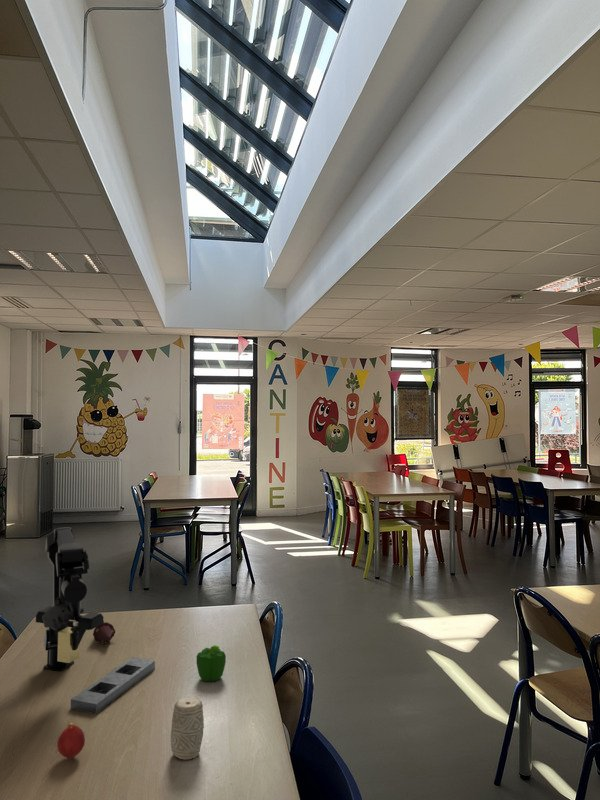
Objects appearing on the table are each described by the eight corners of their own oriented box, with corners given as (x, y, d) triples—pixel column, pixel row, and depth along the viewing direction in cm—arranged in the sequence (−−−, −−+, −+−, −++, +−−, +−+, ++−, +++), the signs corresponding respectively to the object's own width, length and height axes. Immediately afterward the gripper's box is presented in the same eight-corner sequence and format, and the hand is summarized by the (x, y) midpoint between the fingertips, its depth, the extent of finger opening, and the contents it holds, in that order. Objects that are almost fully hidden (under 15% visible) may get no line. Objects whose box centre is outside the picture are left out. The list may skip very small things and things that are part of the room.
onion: (62, 751, 132) (62, 716, 132) (87, 750, 132) (88, 715, 132) (53, 766, 126) (54, 730, 126) (80, 765, 126) (80, 729, 127)
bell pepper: (191, 676, 170) (192, 643, 170) (215, 669, 175) (216, 636, 175) (204, 687, 163) (205, 652, 164) (229, 679, 168) (230, 645, 169)
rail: (70, 708, 151) (70, 699, 151) (132, 665, 177) (132, 657, 177) (96, 713, 148) (96, 704, 148) (154, 668, 175) (154, 660, 175)
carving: (204, 760, 129) (204, 706, 129) (169, 764, 127) (171, 709, 128) (202, 744, 135) (203, 693, 135) (170, 748, 134) (171, 696, 134)
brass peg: (57, 661, 157) (58, 631, 157) (67, 655, 161) (68, 626, 161) (69, 663, 156) (70, 633, 156) (79, 657, 160) (79, 628, 160)
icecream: (122, 627, 191) (111, 618, 204) (100, 626, 188) (90, 616, 200) (117, 649, 190) (106, 638, 202) (95, 648, 186) (85, 637, 199)
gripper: (21, 597, 154) (19, 655, 154) (78, 605, 149) (77, 665, 148) (50, 585, 165) (49, 640, 164) (105, 592, 159) (104, 649, 159)
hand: (68, 648), depth 159 cm, fingers closed on brass peg, 4 cm apart
